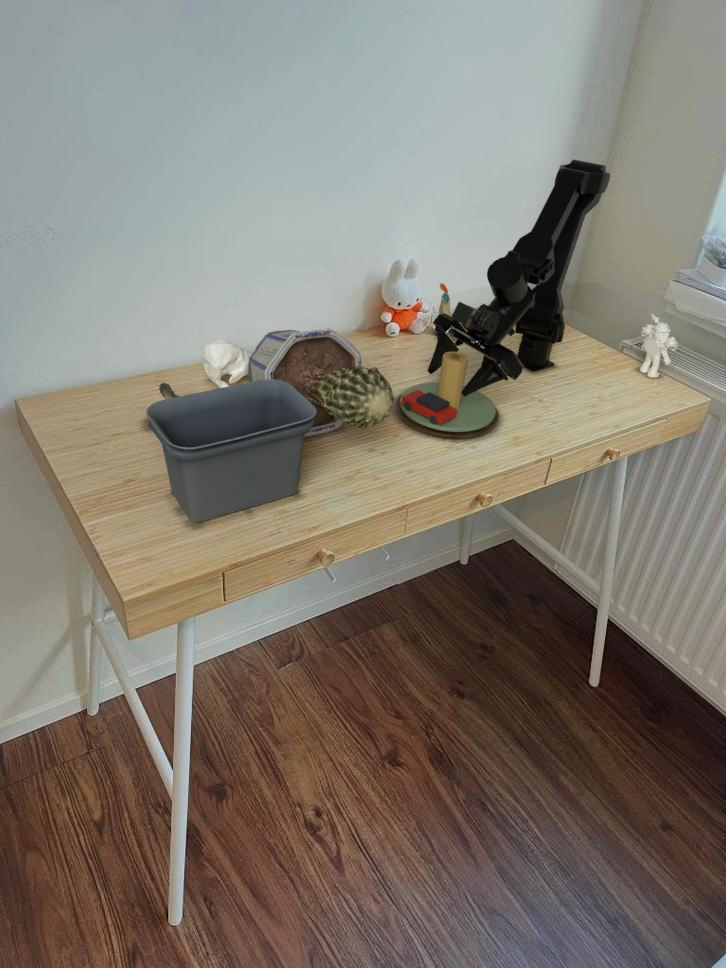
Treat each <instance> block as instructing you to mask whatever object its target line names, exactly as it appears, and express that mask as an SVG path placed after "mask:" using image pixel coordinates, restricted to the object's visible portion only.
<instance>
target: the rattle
mask: <svg viewBox="0 0 726 968" xmlns="http://www.w3.org/2000/svg"><path fill="white" fill-rule="evenodd" d="M439 288H440V290H441V291H442V292H443V293H442V294H441V296H440V297H441V300H440V304H439V308H438V314H437V316H438V315H439V314H443V313H446V314H447V315H449V316H451V300H450V299H451V298H450V295H449V290H448V288H447V286H446V285H445V284H444V283H442V282H441V283H440V284H439ZM460 324H461V323H460ZM461 326H462V324H461ZM462 327H463V326H462ZM463 328H464V327H463ZM464 329H465V328H464ZM465 331H466V332H467V331H468V330H467V329H465Z"/></svg>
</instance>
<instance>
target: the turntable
mask: <svg viewBox="0 0 726 968" xmlns="http://www.w3.org/2000/svg"><path fill="white" fill-rule="evenodd" d="M468 361H469V357H468V356H467V354H465V353H463V352H459V351H458V352H446V353H444V355H443V358H442V365H441V367H440V372H439V379H438V381H436V382H435V381H433V382H431V381H430V382H425V383H418V384H416V385H412V386H411V387H409V388H407V389H406V390H405V391H404V392H403V393H401V394H402V396H401V399H400V406H401V409H402V411H403V412H404V413H405V414H406V415H407V416H408V417H409V418H410V419H412V420H413V421H415V422H417V423H419V424H421V425H424V426H426V427H429V428H433V429H437V430H442V431H450V432H467V431H473V430H478V429H481V428H483V427H486V426H487V425H489V424H490V423H491V422H492V421H493V419H494V417H495V413H496V409H497V408H496V406H495V404H494V403H493V401H492V400H491V399H490V398H489V397H488V396H486V395H485V394H484V393H482V392H481V391H479V390H477V391H475V392H473V393H471V394H469V395H467V396H463V395H462V393H461V392H462V391H463V389H464V387H465V386H466V385H465V380H466V373H467V367H468V363H469V362H468ZM464 385H465V386H464ZM495 408H496V409H495Z"/></svg>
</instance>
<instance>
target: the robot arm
mask: <svg viewBox="0 0 726 968" xmlns="http://www.w3.org/2000/svg"><path fill="white" fill-rule="evenodd" d="M610 179H611V173H610V172H607V167H606V165H605V164H599V163H594V162H589V161H584V160H579V159H571V161H570V163H566V164H560V165H559V167H558V171H557V172H556V175H555V178H554V185H553V188H552V189H551V191H550V193H549V195H548V197H547V199H546V201H545V203H544V205H543V207H542V209H541V211H540V213H539V215H538V217H537V219H536V221H535V223H534V225H533V227H532V228H531V229H530V231H529V232H527V233H526V234H524V235H522V236H521V237H519V239H517V242H516V243H515V245H514V247H513V248H512V249H511V250H508V251H507V253H506V254H505V255H504V256H502V257H499V258H498V259H496V260H494V261H492V263H491V264H490V265H489V266H488V268H487V271H486V277H487V282H488V284H489V286H490V289H491V291H492V295H493V296H494V298H493V299H492V301H490V303H489V304H488V305H487V304H485V303H482V304H481V305H480V306H478V308H475V307H473V306H470V305H469V304H466V303H463V302H461V301H458V302H457V304H456V306H455V308H454V310H453V312H452V314H451V315H450V316H449V315H447V314H446V313H443V314H439V315H438V314H437V316H436V318H435V319H434V320H433V321H432V324H433V326H434V332H435V333H436V337H437V338H436V344H435V345H436V346H435V348H434V351H433V353H432V357H431V360H430V362H429V365H428V368H427V373H428V374H430V375H433V374H434V373H436V372H437V371H438V370H439V369H441V365H442V358H443V355H444V353H446V352H459V351H460V349H459V346H462V345H464V344H465V345H466V346H468V347H470V348H472V349H473V350H475V351H477V352H478V353H480V354H482V355H483V356H482V360H481V365H480V367H479V368H478V369H477V371H476V372H475V373H474V375H473V376H472V377H471V378H470V380H468V382H467V383H466V384H465V387H464V389H463V391H462V392H461V393H462V395H463V396H467V395H469V394H471V393H473V392H475V391H479V390H481V389H483V388H486V387H488V386H490V385H491V386H492V385H493V384H495V383H498V382H502V381H503V380H504V381H505V382H507V381H509V378H510V379H512V380H514V381H517V379H518V378H519V377H520V375H521V374H522V373H523V369H524V368H525V369H526V370H528V371H530V372H532V373H535V372H539V371H541V370H545V369H549V368H551V367H555V362H553V361H551V360H550V357H551V353H552V350H553V349H552V348H553V345H556V344H557V343H562V342H563V338H564V336H565V335H564V334H565V329H566V324H565V318H564V315H563V313H564V308H565V304H564V299H563V295H562V288H563V285H564V282H565V279H566V276H567V273H568V269H569V267H570V263H571V261H572V258H573V255H574V252H575V248H576V246H577V242H578V239H579V237H580V234H581V230H582V228H583V224H584V222H585V218H586V216H587V214H588V213H589V212H591V211H592V209H594V208H595V207H596V206H597V205H598V204H599V203H600V200H601V197H602V195H603V194H605V192H606V191H607V189H608V186H609V183H610ZM529 284H532V285H535V286H534V287H533V288H532V289H531V287H530V286H529ZM461 324H462V326H463V327H464V328H465V329H467V330H468V331H467V332H466V331H465V329H464V328H463V327H462V326H461ZM514 327H515V329H514ZM515 334H520V335H521V340H520V343H519V346H518V351H517V354H516V352H514V350H511V349H510V348H508V347H506V346H505V345H503V344H501V343H502V341H504V339H505V338H506V337H507V336H508V335H509V336H510V337H513V336H514V335H515Z"/></svg>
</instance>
